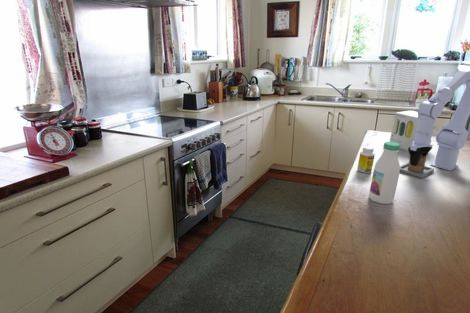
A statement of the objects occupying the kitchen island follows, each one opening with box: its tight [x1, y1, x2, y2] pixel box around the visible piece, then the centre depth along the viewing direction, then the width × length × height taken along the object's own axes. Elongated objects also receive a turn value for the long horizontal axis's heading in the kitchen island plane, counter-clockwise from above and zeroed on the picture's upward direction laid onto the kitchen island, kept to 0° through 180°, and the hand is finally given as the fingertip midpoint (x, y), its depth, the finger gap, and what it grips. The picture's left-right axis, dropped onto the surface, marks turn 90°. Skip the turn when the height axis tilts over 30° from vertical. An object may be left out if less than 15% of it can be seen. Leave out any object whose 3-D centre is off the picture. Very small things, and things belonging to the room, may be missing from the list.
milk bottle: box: [368, 141, 401, 205], centre depth 104 cm, size 8×8×20 cm
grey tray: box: [399, 161, 435, 180], centre depth 132 cm, size 12×10×2 cm
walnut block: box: [408, 156, 427, 173], centre depth 131 cm, size 4×4×6 cm
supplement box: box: [389, 110, 419, 152], centre depth 161 cm, size 13×13×18 cm
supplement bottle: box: [356, 145, 376, 174], centre depth 130 cm, size 6×6×10 cm
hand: (416, 163), depth 131 cm, fingers open, 5 cm apart
